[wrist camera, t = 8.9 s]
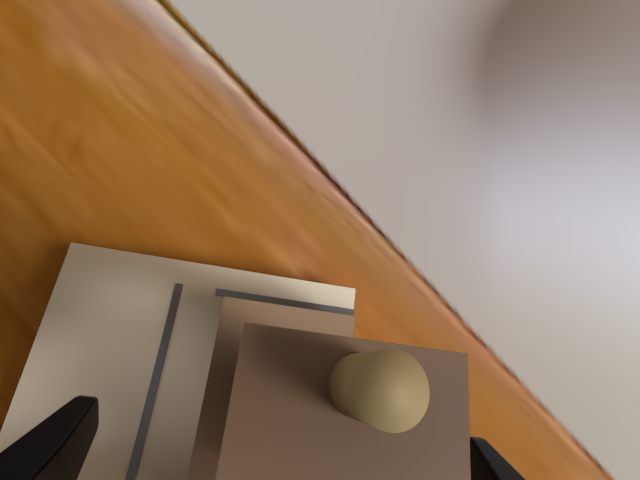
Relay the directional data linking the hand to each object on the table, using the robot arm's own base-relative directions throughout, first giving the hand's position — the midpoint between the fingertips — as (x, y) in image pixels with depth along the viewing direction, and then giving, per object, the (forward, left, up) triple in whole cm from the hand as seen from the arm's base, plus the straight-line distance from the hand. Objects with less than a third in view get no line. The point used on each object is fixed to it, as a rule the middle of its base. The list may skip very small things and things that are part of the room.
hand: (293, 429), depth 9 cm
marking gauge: (0, 0, -6) cm, 6 cm away
